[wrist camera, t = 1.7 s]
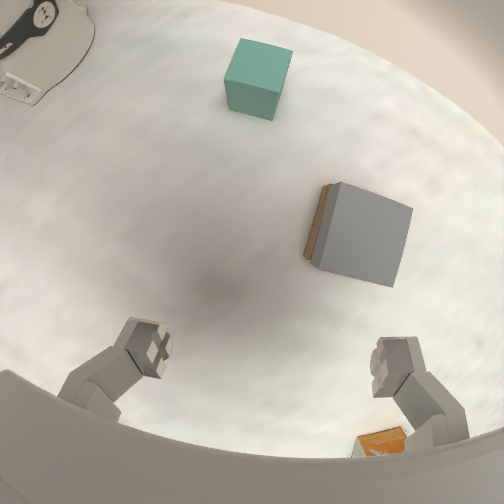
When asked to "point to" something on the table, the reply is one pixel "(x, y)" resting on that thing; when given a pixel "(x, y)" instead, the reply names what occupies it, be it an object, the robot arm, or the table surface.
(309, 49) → the table surface
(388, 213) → the tower top
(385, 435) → the small box
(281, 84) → the teal block
